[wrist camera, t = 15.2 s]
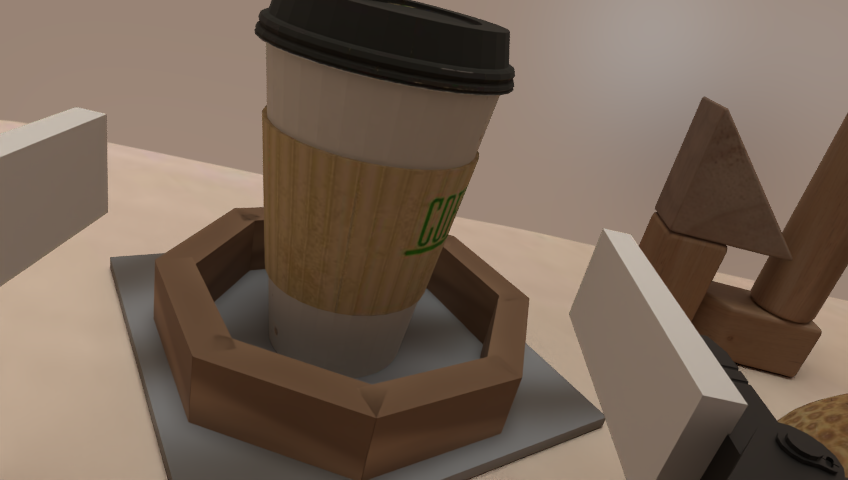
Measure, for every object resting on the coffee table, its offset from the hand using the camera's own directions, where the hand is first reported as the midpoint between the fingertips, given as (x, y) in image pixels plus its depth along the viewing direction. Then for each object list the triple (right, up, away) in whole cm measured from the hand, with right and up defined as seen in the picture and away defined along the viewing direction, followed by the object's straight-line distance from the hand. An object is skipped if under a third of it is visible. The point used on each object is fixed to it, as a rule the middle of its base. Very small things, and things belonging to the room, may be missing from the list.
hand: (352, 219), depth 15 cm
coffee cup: (-2, -5, +12) cm, 13 cm away
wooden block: (+19, -7, +21) cm, 29 cm away
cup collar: (-2, -6, +13) cm, 14 cm away
